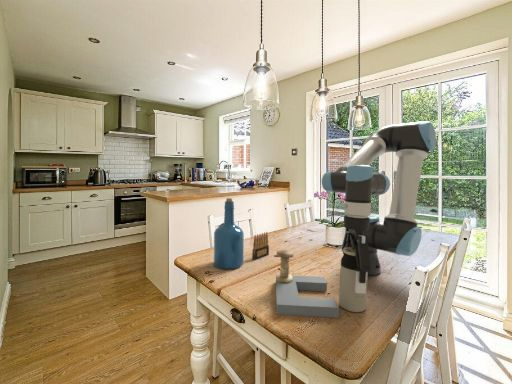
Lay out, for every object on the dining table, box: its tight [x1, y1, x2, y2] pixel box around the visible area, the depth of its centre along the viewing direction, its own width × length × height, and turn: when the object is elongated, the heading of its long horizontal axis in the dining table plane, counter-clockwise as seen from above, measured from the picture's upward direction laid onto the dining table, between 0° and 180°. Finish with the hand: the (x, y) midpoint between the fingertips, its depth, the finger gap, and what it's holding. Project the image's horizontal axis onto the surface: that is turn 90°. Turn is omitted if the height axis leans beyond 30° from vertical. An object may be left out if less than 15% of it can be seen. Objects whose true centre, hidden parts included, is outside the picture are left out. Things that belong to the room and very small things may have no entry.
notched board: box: [275, 274, 340, 319], centre depth 86 cm, size 18×22×3 cm
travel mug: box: [338, 247, 369, 313], centre depth 81 cm, size 8×8×18 cm
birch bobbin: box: [275, 249, 294, 283], centre depth 93 cm, size 6×6×10 cm
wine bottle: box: [213, 197, 245, 270], centre depth 114 cm, size 14×13×30 cm
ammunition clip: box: [251, 231, 270, 261], centre depth 126 cm, size 11×2×12 cm, turn 139°
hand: (352, 282), depth 81 cm, fingers open, 13 cm apart
